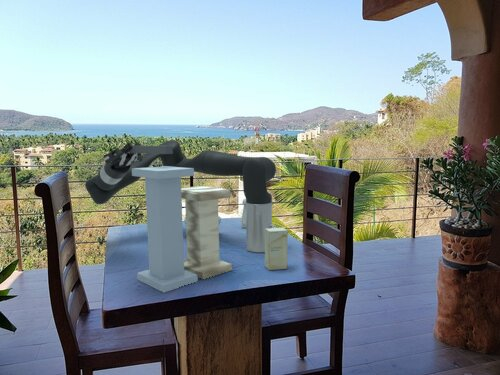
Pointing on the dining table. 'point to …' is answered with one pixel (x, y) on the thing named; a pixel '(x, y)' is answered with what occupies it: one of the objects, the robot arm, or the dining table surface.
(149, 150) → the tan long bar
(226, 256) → the dining table surface
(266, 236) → the skincare box
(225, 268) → the marble stand
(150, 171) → the tall stand
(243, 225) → the salt shaker
